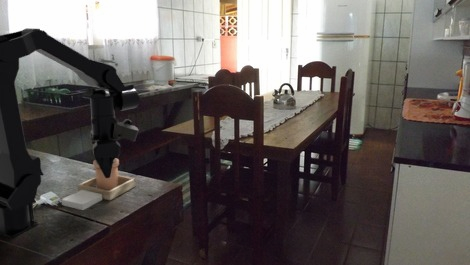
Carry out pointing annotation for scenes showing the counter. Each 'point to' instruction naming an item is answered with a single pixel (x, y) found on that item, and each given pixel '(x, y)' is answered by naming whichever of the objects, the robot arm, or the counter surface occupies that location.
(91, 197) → the stone tile
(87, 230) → the counter surface
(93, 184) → the beige square frame
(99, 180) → the terracotta pot
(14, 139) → the robot arm
